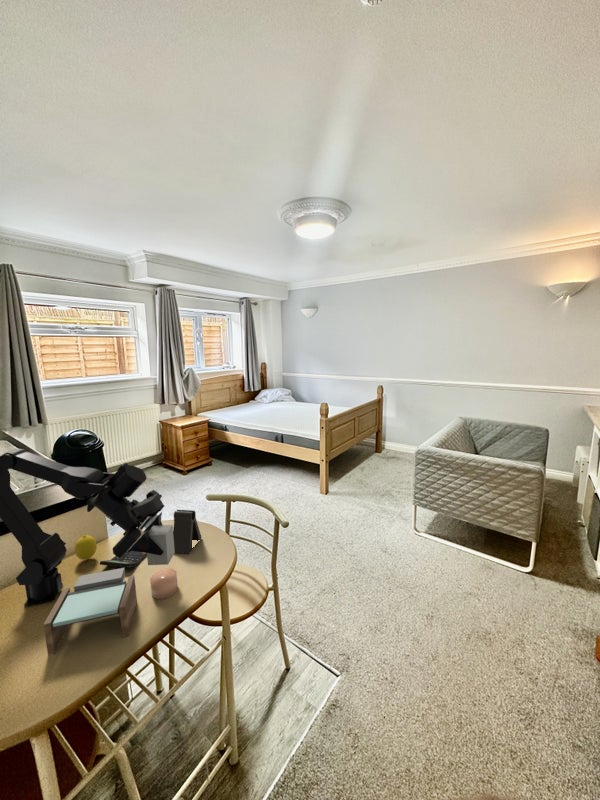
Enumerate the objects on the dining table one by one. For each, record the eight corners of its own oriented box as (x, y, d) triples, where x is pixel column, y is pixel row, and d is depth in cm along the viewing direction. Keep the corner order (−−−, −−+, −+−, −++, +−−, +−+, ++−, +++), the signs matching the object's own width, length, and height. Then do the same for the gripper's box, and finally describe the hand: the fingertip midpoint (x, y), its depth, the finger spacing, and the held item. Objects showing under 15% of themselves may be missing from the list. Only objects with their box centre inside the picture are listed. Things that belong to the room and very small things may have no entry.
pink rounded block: (150, 601, 84) (148, 587, 84) (153, 584, 90) (151, 571, 90) (177, 595, 86) (175, 581, 85) (178, 579, 92) (177, 566, 92)
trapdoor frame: (48, 655, 70) (43, 624, 69) (67, 616, 80) (63, 588, 79) (128, 636, 74) (125, 606, 73) (137, 601, 84) (134, 575, 83)
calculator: (153, 550, 107) (152, 542, 106) (129, 574, 95) (128, 565, 95) (127, 548, 108) (126, 539, 108) (100, 571, 97) (99, 562, 97)
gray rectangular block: (147, 565, 84) (145, 535, 83) (155, 553, 89) (153, 525, 88) (168, 564, 84) (165, 535, 83) (174, 552, 89) (172, 524, 88)
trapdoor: (53, 628, 69) (52, 618, 69) (76, 585, 82) (74, 576, 82) (117, 614, 73) (116, 604, 72) (129, 575, 86) (128, 566, 85)
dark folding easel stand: (189, 554, 104) (186, 518, 102) (171, 553, 105) (168, 517, 103) (201, 538, 112) (199, 504, 111) (185, 537, 113) (182, 504, 112)
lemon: (84, 554, 105) (81, 530, 104) (101, 554, 105) (99, 530, 104) (72, 565, 100) (68, 540, 98) (90, 565, 99) (87, 540, 98)
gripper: (121, 503, 75) (174, 547, 77) (154, 473, 93) (196, 509, 95) (89, 537, 76) (142, 579, 78) (128, 500, 94) (170, 536, 96)
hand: (166, 547), depth 87 cm, fingers closed on gray rectangular block, 5 cm apart
